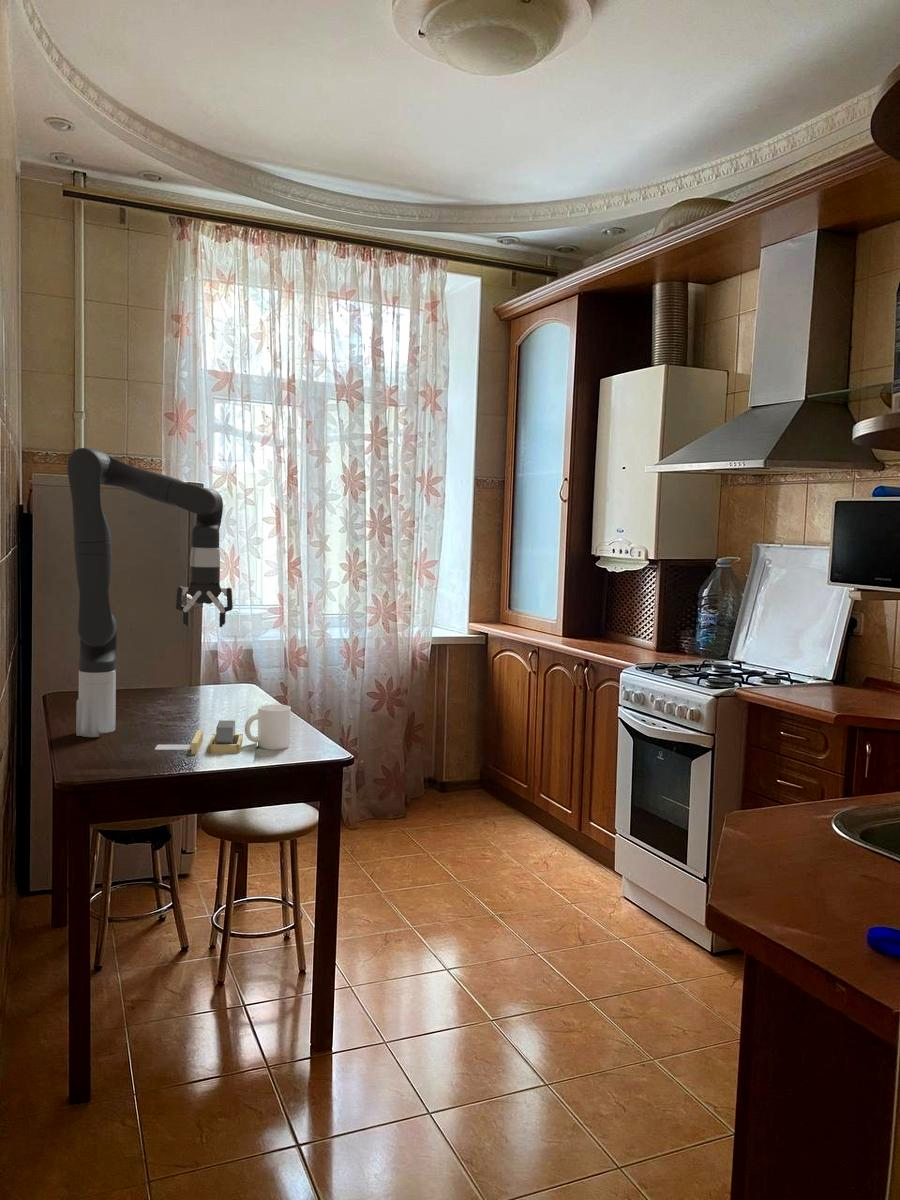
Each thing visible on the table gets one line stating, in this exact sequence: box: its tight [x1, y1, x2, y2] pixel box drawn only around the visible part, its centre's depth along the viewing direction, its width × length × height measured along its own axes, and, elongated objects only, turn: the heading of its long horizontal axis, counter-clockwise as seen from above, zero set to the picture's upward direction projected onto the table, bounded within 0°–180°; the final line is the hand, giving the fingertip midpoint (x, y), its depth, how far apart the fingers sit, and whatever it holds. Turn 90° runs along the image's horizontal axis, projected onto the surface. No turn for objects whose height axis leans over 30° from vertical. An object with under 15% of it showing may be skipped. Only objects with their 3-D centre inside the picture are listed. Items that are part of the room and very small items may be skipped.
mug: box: [244, 703, 292, 751], centre depth 241 cm, size 12×8×10 cm
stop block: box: [215, 720, 236, 744], centre depth 236 cm, size 8×4×6 cm, turn 9°
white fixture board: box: [154, 729, 244, 755], centre depth 235 cm, size 22×14×4 cm, turn 99°
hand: (204, 626), depth 245 cm, fingers open, 8 cm apart
